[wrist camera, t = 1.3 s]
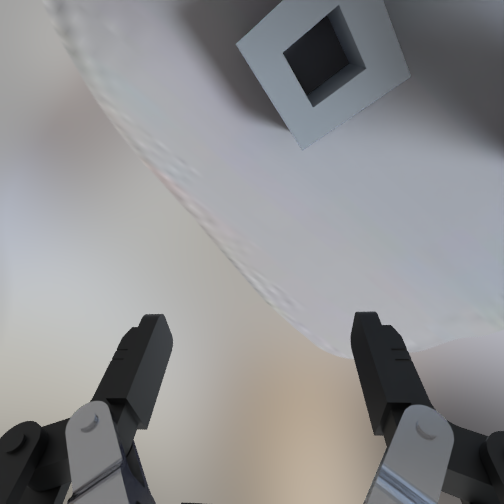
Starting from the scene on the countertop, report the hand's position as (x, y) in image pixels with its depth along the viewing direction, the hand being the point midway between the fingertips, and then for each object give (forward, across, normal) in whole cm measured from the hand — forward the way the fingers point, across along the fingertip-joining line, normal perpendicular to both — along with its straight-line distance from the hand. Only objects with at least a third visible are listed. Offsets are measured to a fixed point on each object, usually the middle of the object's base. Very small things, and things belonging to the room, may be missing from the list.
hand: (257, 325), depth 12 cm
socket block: (+25, -5, -8) cm, 27 cm away
